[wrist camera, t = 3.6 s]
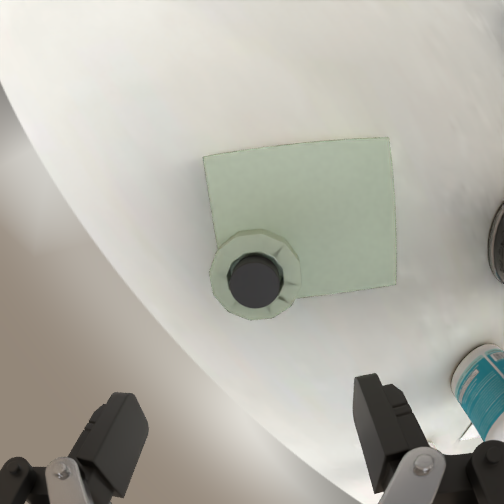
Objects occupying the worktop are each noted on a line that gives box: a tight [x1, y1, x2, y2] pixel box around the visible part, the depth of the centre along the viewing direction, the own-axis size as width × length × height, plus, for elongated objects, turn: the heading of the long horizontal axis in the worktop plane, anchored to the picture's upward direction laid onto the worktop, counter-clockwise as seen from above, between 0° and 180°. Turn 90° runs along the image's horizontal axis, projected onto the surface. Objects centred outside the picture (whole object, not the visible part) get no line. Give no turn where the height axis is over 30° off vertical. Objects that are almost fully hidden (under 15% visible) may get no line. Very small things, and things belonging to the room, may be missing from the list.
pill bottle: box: [451, 344, 504, 442], centre depth 20 cm, size 8×7×14 cm
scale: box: [203, 137, 397, 320], centre depth 21 cm, size 14×12×4 cm
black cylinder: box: [230, 255, 280, 309], centre depth 20 cm, size 3×3×2 cm
